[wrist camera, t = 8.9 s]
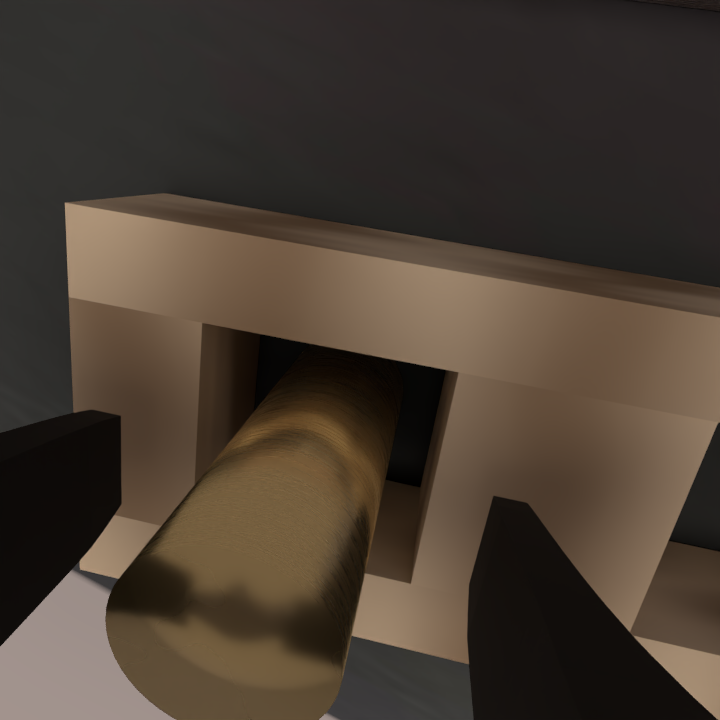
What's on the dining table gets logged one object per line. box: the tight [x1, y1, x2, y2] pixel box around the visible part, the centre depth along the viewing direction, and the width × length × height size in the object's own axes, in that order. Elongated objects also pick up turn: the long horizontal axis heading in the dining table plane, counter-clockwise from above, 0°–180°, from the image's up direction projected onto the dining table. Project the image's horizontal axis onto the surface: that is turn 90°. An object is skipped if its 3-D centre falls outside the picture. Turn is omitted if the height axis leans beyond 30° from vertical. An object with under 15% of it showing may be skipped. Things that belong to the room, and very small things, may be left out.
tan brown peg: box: [106, 344, 403, 720], centre depth 11 cm, size 3×3×9 cm
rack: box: [65, 193, 720, 720], centre depth 13 cm, size 21×9×4 cm, turn 82°
